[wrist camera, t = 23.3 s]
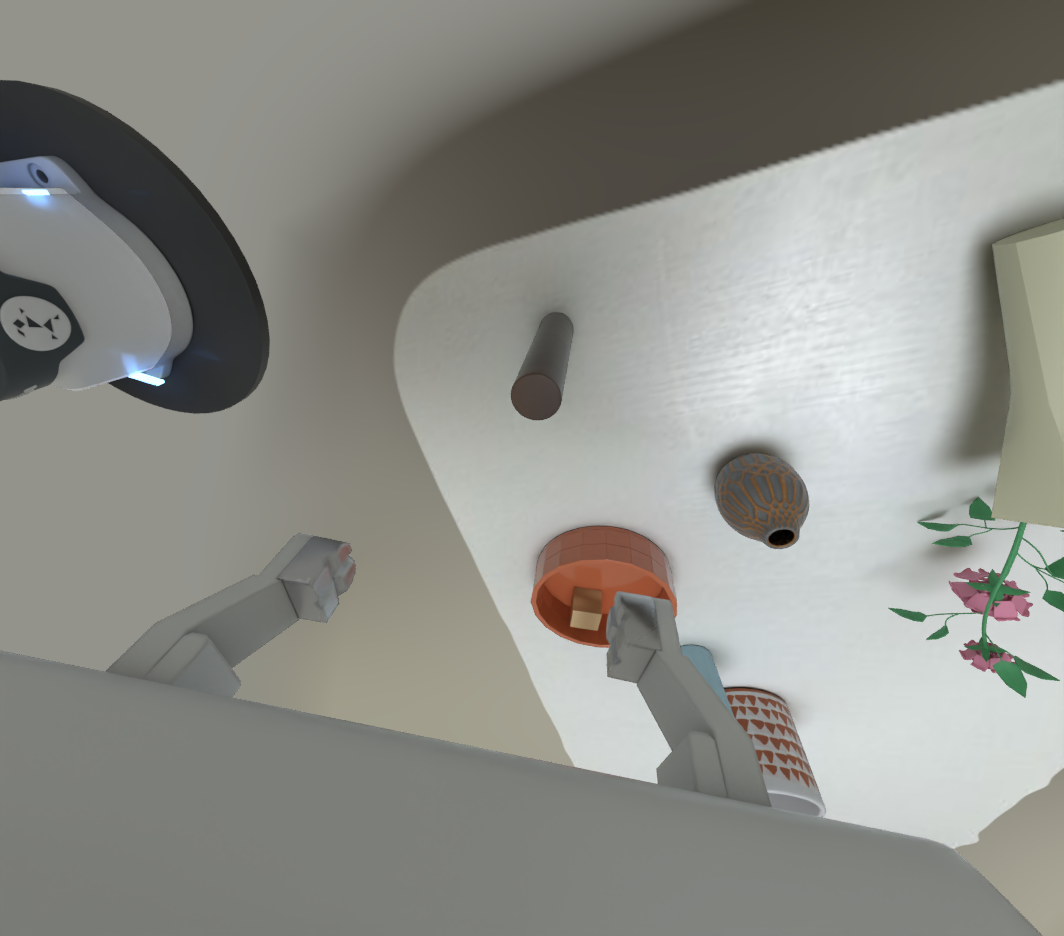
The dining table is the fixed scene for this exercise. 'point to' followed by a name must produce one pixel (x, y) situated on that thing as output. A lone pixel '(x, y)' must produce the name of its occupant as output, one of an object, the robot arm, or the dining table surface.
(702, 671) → the cup
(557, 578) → the bowl
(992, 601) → the flower vase
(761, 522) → the vase
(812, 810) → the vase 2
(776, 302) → the dining table surface
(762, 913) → the robot arm
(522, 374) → the dark brown cylinder
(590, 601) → the block
